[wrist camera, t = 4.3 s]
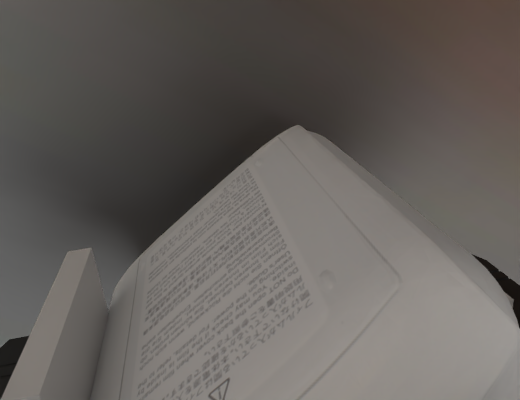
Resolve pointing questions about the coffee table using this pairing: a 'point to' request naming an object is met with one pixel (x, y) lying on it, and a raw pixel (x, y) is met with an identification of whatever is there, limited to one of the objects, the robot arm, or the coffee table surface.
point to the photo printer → (307, 295)
